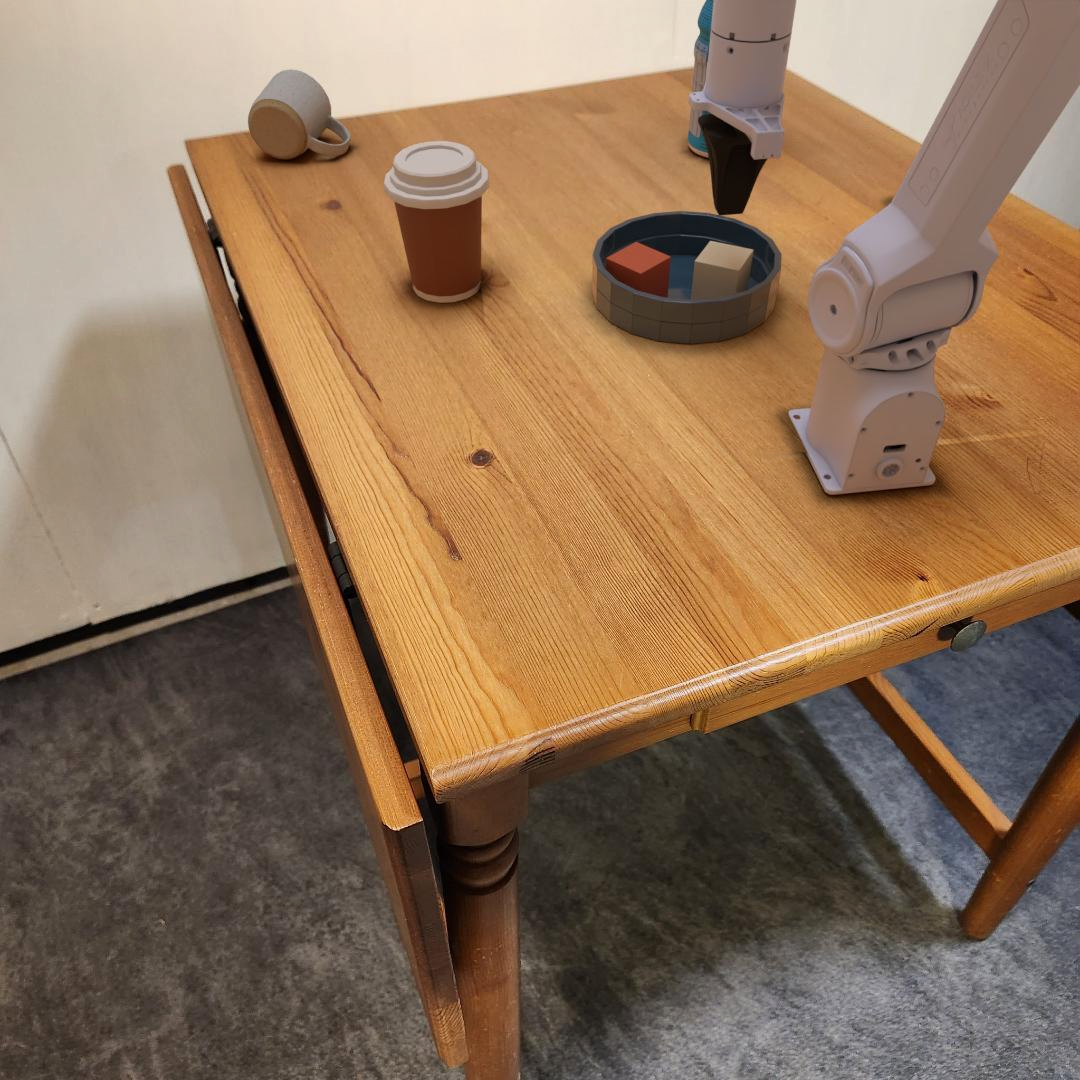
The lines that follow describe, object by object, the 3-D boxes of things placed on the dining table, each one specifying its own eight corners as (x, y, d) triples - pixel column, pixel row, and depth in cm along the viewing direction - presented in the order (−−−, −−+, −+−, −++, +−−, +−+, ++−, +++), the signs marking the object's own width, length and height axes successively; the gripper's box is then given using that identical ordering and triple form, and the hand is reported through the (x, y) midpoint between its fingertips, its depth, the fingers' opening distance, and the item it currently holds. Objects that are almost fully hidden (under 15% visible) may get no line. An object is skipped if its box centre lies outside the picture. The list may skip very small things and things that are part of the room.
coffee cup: (459, 320, 84) (447, 189, 75) (378, 294, 87) (358, 166, 79) (514, 274, 89) (508, 147, 81) (436, 252, 93) (422, 128, 84)
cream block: (733, 311, 82) (739, 270, 80) (690, 301, 84) (694, 260, 81) (747, 290, 85) (753, 249, 82) (705, 281, 86) (710, 240, 84)
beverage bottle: (671, 142, 110) (686, -56, 96) (730, 127, 113) (753, -68, 99) (714, 168, 105) (736, -37, 91) (775, 152, 107) (806, -50, 93)
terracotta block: (638, 315, 83) (640, 273, 80) (604, 298, 85) (605, 257, 82) (667, 297, 84) (671, 256, 82) (634, 282, 87) (636, 241, 84)
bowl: (797, 341, 80) (806, 293, 77) (609, 357, 79) (610, 310, 76) (745, 249, 92) (751, 205, 88) (580, 262, 90) (581, 218, 87)
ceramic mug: (251, 161, 109) (235, 92, 103) (277, 133, 114) (263, 66, 109) (339, 167, 107) (328, 98, 102) (361, 138, 113) (351, 71, 108)
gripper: (674, 3, 72) (662, 176, 82) (722, 68, 62) (702, 257, 72) (764, -3, 73) (741, 170, 82) (826, 61, 63) (792, 250, 72)
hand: (728, 210), depth 77 cm, fingers closed
